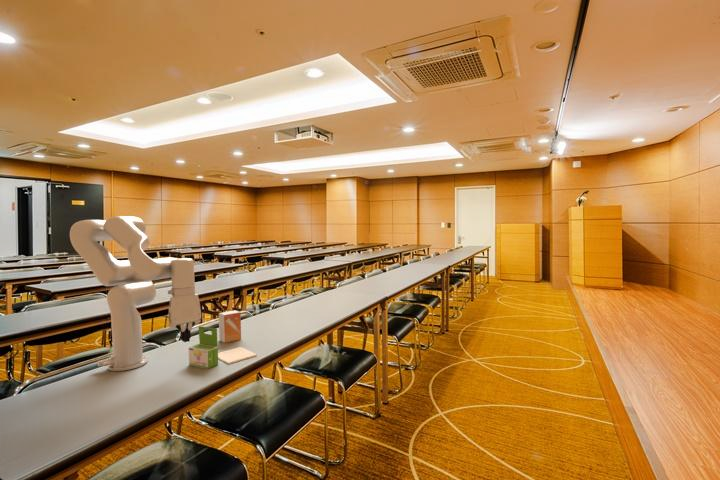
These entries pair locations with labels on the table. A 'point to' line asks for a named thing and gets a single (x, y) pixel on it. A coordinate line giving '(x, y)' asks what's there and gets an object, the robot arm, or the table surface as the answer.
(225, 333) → the small box
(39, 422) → the table surface
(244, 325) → the table surface
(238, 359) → the mat
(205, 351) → the ink box
